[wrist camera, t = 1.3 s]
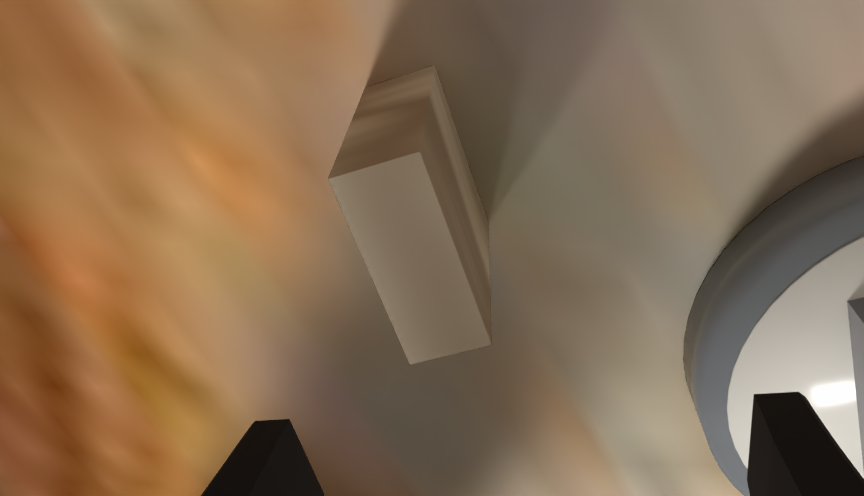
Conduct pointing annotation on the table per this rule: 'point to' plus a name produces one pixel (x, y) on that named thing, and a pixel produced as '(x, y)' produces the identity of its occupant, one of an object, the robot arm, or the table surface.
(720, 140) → the table surface
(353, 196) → the wooden plank block
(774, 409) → the robot arm
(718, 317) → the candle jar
